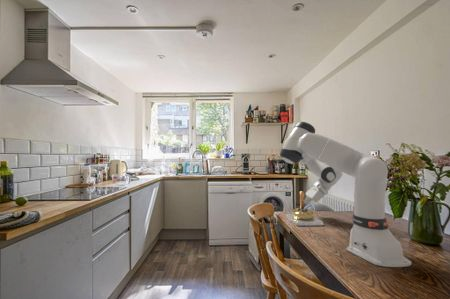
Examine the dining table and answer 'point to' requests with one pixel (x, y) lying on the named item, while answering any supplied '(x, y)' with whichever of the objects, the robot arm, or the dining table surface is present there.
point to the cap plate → (304, 221)
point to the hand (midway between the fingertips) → (304, 203)
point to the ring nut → (303, 210)
